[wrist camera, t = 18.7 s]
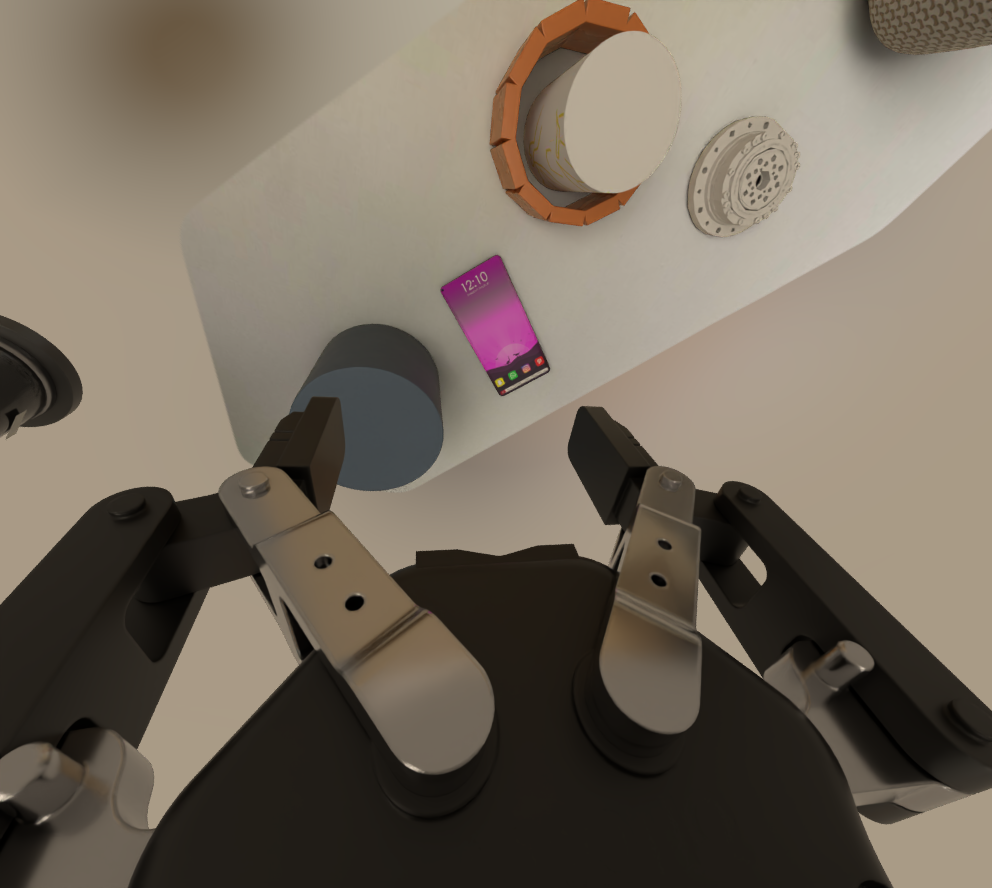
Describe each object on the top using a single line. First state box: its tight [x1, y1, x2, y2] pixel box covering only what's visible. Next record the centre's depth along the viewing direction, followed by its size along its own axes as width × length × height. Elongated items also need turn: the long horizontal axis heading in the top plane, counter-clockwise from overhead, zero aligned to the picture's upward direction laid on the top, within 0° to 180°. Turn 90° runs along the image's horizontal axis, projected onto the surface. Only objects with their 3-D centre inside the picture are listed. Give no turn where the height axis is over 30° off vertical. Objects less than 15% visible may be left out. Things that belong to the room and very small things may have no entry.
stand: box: [289, 324, 443, 491], centre depth 40 cm, size 14×14×12 cm
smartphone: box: [441, 255, 550, 396], centre depth 43 cm, size 7×15×1 cm, turn 27°
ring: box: [490, 0, 649, 226], centre depth 32 cm, size 13×13×6 cm
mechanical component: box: [688, 117, 800, 237], centre depth 37 cm, size 10×4×10 cm
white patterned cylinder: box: [523, 31, 682, 193], centre depth 30 cm, size 8×8×12 cm
